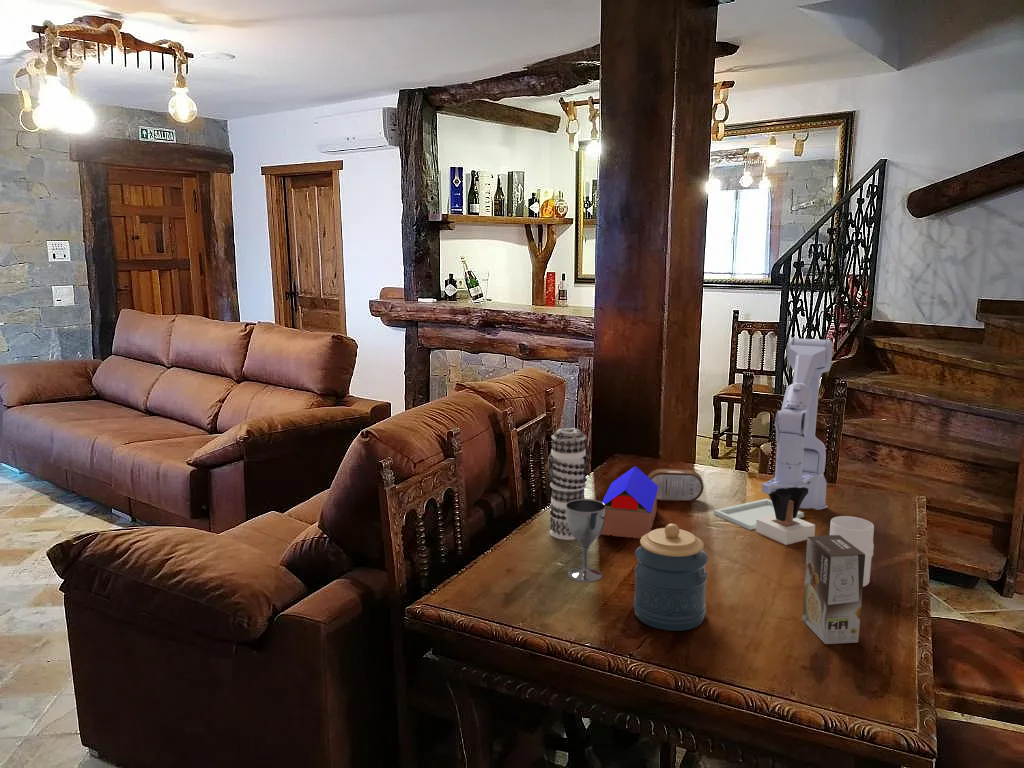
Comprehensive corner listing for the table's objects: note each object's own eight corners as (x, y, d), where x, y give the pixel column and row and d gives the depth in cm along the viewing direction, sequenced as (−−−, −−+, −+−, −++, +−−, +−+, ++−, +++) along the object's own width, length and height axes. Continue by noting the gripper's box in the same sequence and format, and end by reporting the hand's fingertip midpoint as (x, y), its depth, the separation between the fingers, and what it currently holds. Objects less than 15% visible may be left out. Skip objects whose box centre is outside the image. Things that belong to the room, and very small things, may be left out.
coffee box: (860, 643, 130) (868, 554, 127) (824, 645, 129) (831, 556, 126) (833, 617, 139) (840, 534, 136) (799, 619, 138) (805, 535, 135)
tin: (702, 499, 203) (703, 469, 201) (703, 503, 200) (705, 472, 198) (644, 497, 204) (645, 467, 203) (645, 501, 201) (646, 471, 199)
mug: (861, 564, 161) (866, 511, 159) (874, 589, 150) (879, 531, 147) (820, 561, 163) (824, 508, 161) (830, 585, 151) (834, 528, 149)
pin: (784, 531, 177) (786, 498, 176) (794, 535, 175) (796, 502, 173) (775, 533, 176) (777, 500, 174) (785, 537, 173) (787, 504, 172)
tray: (766, 505, 197) (766, 498, 197) (803, 520, 187) (804, 512, 186) (713, 517, 189) (713, 510, 188) (749, 533, 178) (749, 525, 178)
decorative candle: (565, 522, 186) (566, 423, 181) (595, 533, 179) (596, 430, 175) (540, 533, 180) (540, 430, 175) (569, 543, 173) (570, 437, 169)
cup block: (783, 528, 181) (784, 512, 181) (814, 541, 174) (815, 524, 173) (755, 535, 177) (756, 519, 177) (785, 549, 169) (786, 532, 169)
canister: (719, 626, 136) (723, 533, 132) (653, 637, 132) (656, 541, 129) (683, 594, 148) (686, 508, 145) (621, 604, 144) (623, 515, 141)
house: (657, 511, 194) (659, 467, 192) (649, 540, 175) (651, 492, 173) (611, 507, 197) (611, 464, 195) (598, 535, 178) (599, 488, 176)
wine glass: (607, 569, 160) (609, 501, 157) (599, 585, 152) (600, 513, 149) (571, 564, 162) (571, 497, 159) (561, 579, 155) (561, 509, 152)
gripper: (780, 470, 165) (776, 529, 168) (826, 461, 172) (822, 518, 174) (755, 462, 171) (752, 519, 174) (801, 453, 178) (797, 509, 181)
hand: (785, 518), depth 175 cm, fingers closed on pin, 3 cm apart
